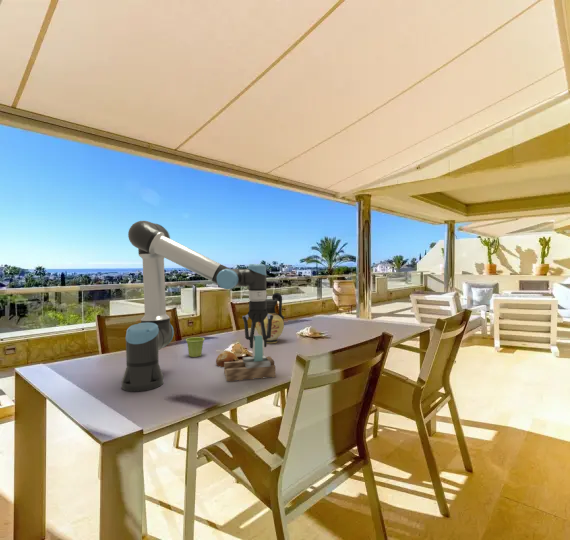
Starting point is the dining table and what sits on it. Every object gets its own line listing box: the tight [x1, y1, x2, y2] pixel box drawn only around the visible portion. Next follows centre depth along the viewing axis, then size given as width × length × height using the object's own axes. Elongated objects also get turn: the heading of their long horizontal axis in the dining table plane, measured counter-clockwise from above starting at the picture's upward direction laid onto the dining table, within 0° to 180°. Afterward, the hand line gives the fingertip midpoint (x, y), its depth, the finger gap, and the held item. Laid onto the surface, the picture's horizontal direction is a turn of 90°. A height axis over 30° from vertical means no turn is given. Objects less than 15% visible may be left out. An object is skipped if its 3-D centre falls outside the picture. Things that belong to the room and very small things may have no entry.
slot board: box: [223, 355, 276, 382], centre depth 147 cm, size 20×12×6 cm, turn 105°
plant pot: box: [185, 336, 205, 358], centre depth 180 cm, size 9×9×9 cm
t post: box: [253, 335, 263, 362], centre depth 148 cm, size 6×6×14 cm
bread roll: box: [215, 350, 240, 368], centre depth 164 cm, size 10×10×8 cm
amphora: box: [255, 292, 285, 344], centre depth 211 cm, size 18×17×30 cm
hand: (258, 355), depth 148 cm, fingers closed on t post, 3 cm apart
